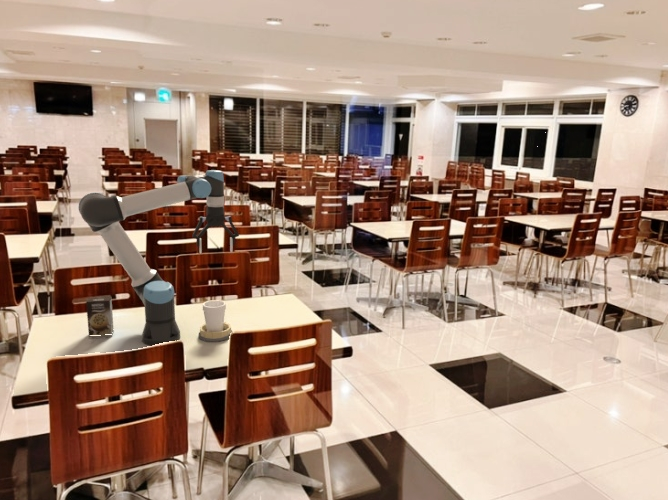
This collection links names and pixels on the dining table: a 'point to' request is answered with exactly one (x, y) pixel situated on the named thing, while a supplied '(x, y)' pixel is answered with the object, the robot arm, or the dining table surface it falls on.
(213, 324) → the foam cup
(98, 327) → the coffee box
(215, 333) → the collar seat
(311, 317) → the dining table surface
